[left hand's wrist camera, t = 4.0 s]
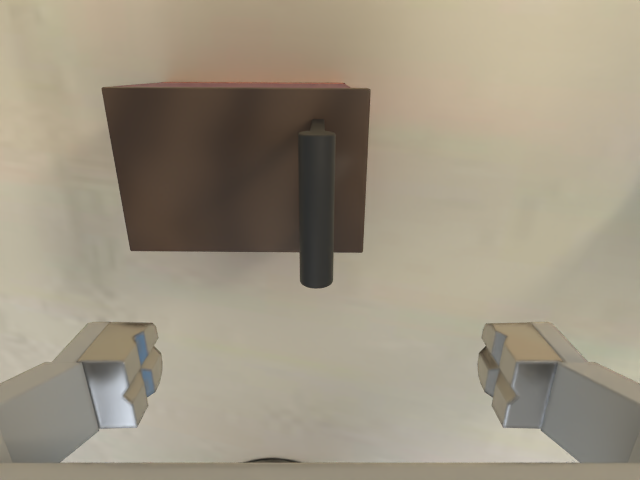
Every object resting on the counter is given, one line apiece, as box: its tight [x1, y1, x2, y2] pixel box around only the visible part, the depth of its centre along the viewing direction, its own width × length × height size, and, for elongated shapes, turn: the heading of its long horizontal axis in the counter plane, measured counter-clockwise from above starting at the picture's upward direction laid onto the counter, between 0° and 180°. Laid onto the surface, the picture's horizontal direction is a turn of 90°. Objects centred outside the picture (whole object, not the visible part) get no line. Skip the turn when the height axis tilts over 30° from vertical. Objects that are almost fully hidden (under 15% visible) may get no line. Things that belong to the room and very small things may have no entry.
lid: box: [102, 87, 370, 288], centre depth 22 cm, size 15×10×9 cm, turn 90°
